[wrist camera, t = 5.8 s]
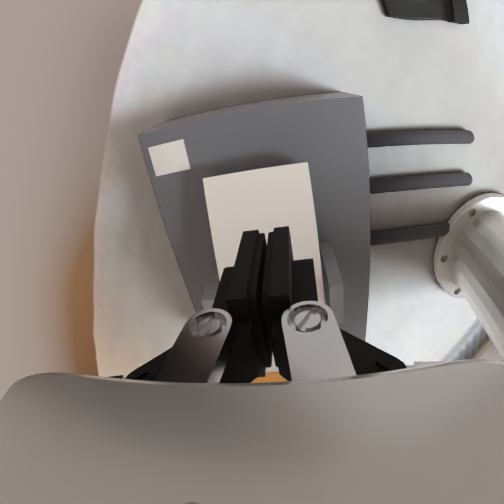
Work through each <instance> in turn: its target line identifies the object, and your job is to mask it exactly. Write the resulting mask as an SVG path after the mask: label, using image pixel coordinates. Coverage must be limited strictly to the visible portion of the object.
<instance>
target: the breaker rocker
mask: <svg viewBox="0 0 504 504" xmlns="http://www.w3.org/2000/svg"><path fill="white" fill-rule="evenodd" d="M203 185H204V191H205V198H206V204H207V210H208V216H209V222H210V228H211V234H212V240H213V246H214V252H215V258H216V263H217V269H218V274H219V280H220V279H221V276H222V273H223V270H224V268H225V267H234V264H235V260H236V256H237V253H238V249H239V245H240V241H241V237H242V234H243V231H251V230H259V233H265V237H266V243H267V241H268V233H269V232H273V231H274V228H276V227H285V226H289V230H290V237H291V244H292V252H293V259H294V260H301V259H311V258H313V262H314V270H315V278H316V286H317V295H318V302H321V303H324V304H325V302H324V291H323V280H322V270H321V260H320V251H319V242H318V233H317V225H316V217H315V209H314V202H313V195H312V188H311V181H310V174H309V167H308V162H305V163H297V164H289V165H282V166H275V167H268V168H261V169H255V170H248V171H242V172H236V173H230V174H225V175H219V176H213V177H208V178H203ZM267 382H287V380H286V379H285V378H283V377H282V376H281V375H280V374H279V369H278V367H276V366H275V361H274V356H273V354H272V366H271V367H269V368H266V374H265V377H257V378H256V379H255V380H253V381H252V382H251V383H267Z"/></svg>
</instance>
